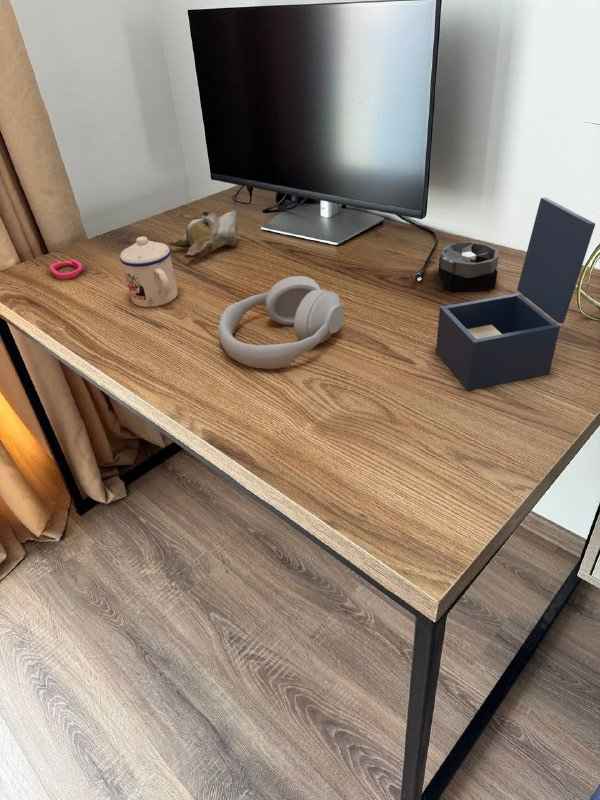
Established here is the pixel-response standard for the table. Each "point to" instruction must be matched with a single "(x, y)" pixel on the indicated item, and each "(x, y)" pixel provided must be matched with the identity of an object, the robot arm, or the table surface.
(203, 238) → the ceramic sculpture
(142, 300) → the teacup with lid
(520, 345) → the chest
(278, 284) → the headphones
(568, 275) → the lid
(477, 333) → the block
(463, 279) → the cpu cooler
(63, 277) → the fitness band
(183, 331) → the table surface
